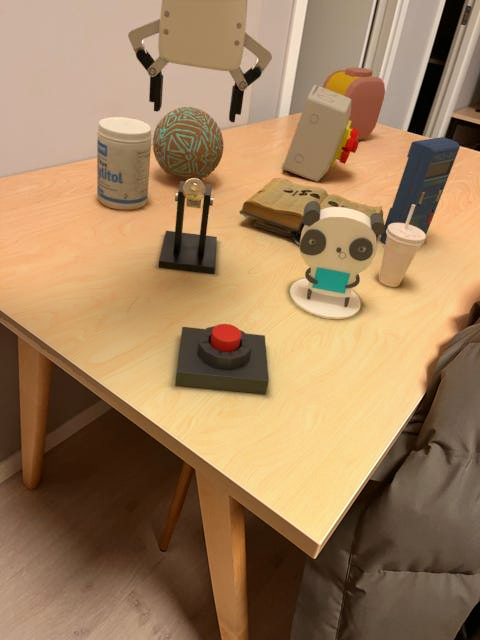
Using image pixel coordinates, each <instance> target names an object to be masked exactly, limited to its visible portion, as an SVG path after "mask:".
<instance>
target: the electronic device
mask: <svg viewBox="0 0 480 640" xmlns="http://www.w3.org/2000/svg"><path fill="white" fill-rule="evenodd" d="M460 148H461V145H460V144H459V142H458V141H455V140H452V139H450V138H447V137H444V136H441V137H434V138H428V139H427V138H426V139H421V140H420V139H419V140H414V141H411V143H410V147H409V150H408V152H407V160H406V163H405V166H404V168H403V169H404V170H403V172H402V176H401V178H400V181H399V185H398V188H397V191H396V194H395V197H394V200H393V203H392V206H391V207H390V208H389V210H388V213H387V216H386V219H385V221H384V226H385V230H384V233H383V234H382V235H380V241H381V243H383V244H385V243H386V238H387V233H386V230H387V228H388V225H390V224H392V223H406V220H407V217H408V215H409V212H410V209H411V206H412V204H414V205H415V208H414V211H413V214H412V217H411V219H410V222H409V225H412V226H415V227H417V228H419V229H421V230H422V231H423V232H424V233H425V234H426V235H427V234H428V231H429V228H430V226H431V224H432V221H433V218H434V216H435V213H436V211H437V208H438V205H439V202H440V200H441V197H442V196H443V192H444V189H445V187H446V184H447V181H448V179H449V176H450V174H451V172H452V169H453V166H454V163H455V161H456V159H457V156H458V153H459V150H460Z"/></svg>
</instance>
